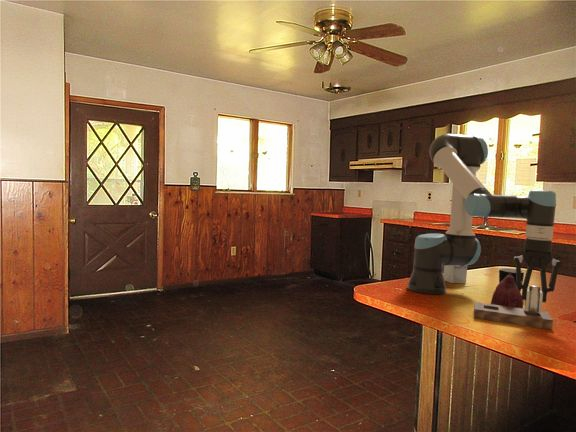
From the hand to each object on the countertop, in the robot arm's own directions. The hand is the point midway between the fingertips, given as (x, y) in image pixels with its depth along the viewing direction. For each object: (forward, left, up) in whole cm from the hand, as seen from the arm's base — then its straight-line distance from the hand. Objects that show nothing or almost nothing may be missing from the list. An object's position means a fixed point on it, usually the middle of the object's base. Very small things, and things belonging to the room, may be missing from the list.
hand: (532, 310), depth 136 cm
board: (-6, 0, -4) cm, 7 cm away
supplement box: (-25, +52, -4) cm, 58 cm away
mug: (-3, +41, -4) cm, 41 cm away
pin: (0, 0, -4) cm, 4 cm away
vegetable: (-6, +14, -4) cm, 16 cm away
